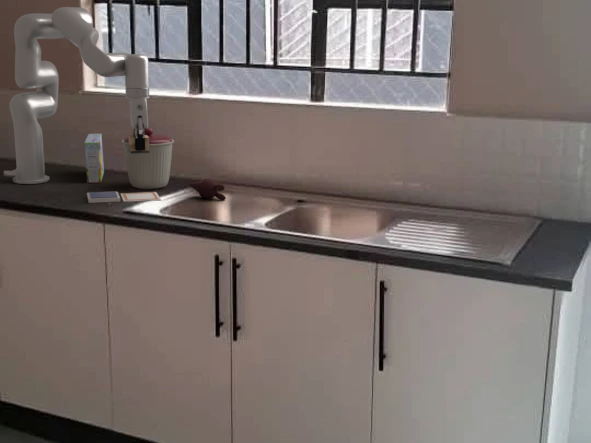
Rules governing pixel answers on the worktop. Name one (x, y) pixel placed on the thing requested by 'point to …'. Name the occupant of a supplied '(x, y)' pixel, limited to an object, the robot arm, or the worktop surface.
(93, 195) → the ink pad
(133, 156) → the canister
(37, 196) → the worktop surface
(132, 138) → the stamp
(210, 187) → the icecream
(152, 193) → the marked card
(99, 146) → the snack box
